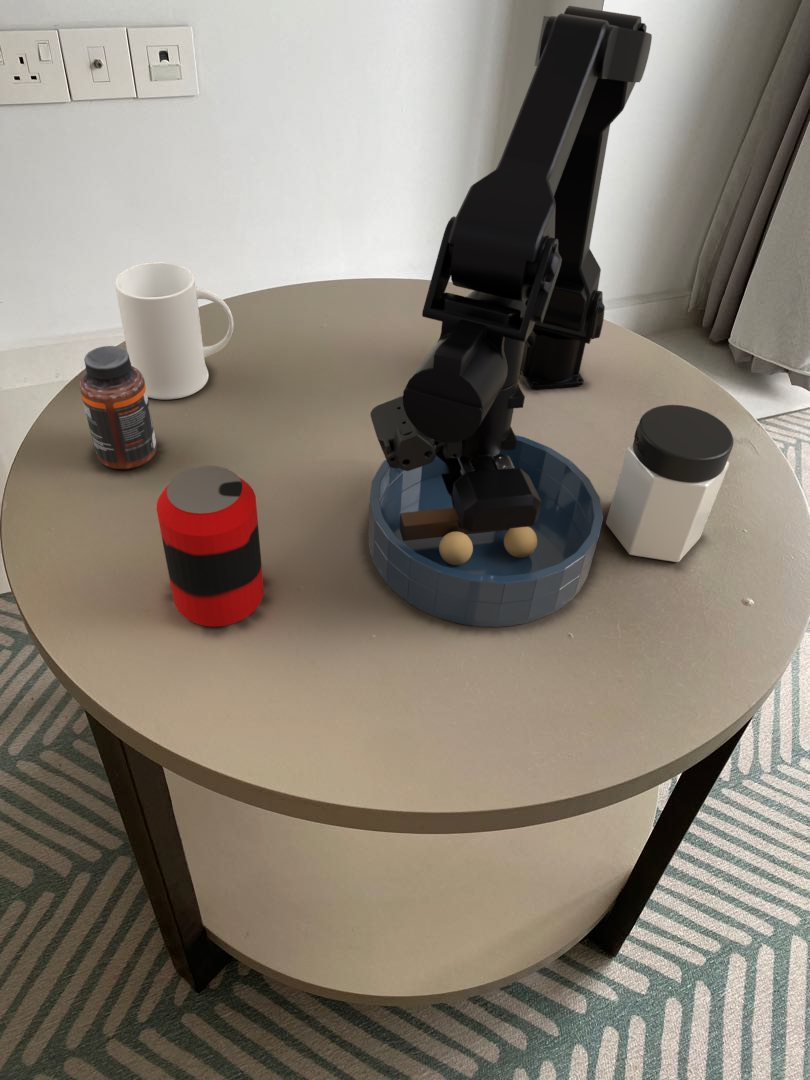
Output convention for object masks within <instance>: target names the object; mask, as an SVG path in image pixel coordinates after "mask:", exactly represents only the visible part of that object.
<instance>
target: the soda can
mask: <svg viewBox="0 0 810 1080" xmlns="http://www.w3.org/2000/svg"><path fill="white" fill-rule="evenodd" d="M257 505H258V504H257V496H256V493H255V490H254V489H253V487H252V486H251V485H250V484H249V483H248V482H246V481H245V479H243V478H241V477H240V476H239V475H238V474H236V473H235V472H234V471H233V470H230V469H228V468H226V467H223V466H218V465H197V466H194V467H191V468H187V469H185V470H183V471H181V472H179V473H178V474H176V475H175V476H174V477H173V478H172V479H171V480H170V481H169V483H168V484H167V486H166V487H165V488H164V489H163V490H162V491H161V493H160V494H159V496H158V498H157V501H156V508H155V509H156V515H157V519H158V524H159V530H160V535H161V540H162V541H161V542H162V547H163V552H164V555H165V556H164V557H165V562H166V567H167V571H168V577H169V578H168V579H169V583H170V587H171V588H170V589H171V593H172V599H173V603H174V606H175V608H176V609H177V611H178V613H179V614H180V615H181V616H182V617H183V618H185V619H186V620H188V621H190V622H192V623H195V624H196V625H199V626H200V625H201V626H206V627H215V628H216V627H217V628H218V627H225V626H230V625H233V624H236V623H238V622H240V621H242V620H244V619H246V618H247V617H249V616H250V615H251V614H252V613H254V612H255V611H256V610H257V608H258V607H259V606H260V604H261V602H262V600H263V598H264V592H265V591H264V577H263V566H262V565H263V564H262V555H261V543H260V532H259V530H260V529H259V519H258V507H257Z"/></svg>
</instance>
